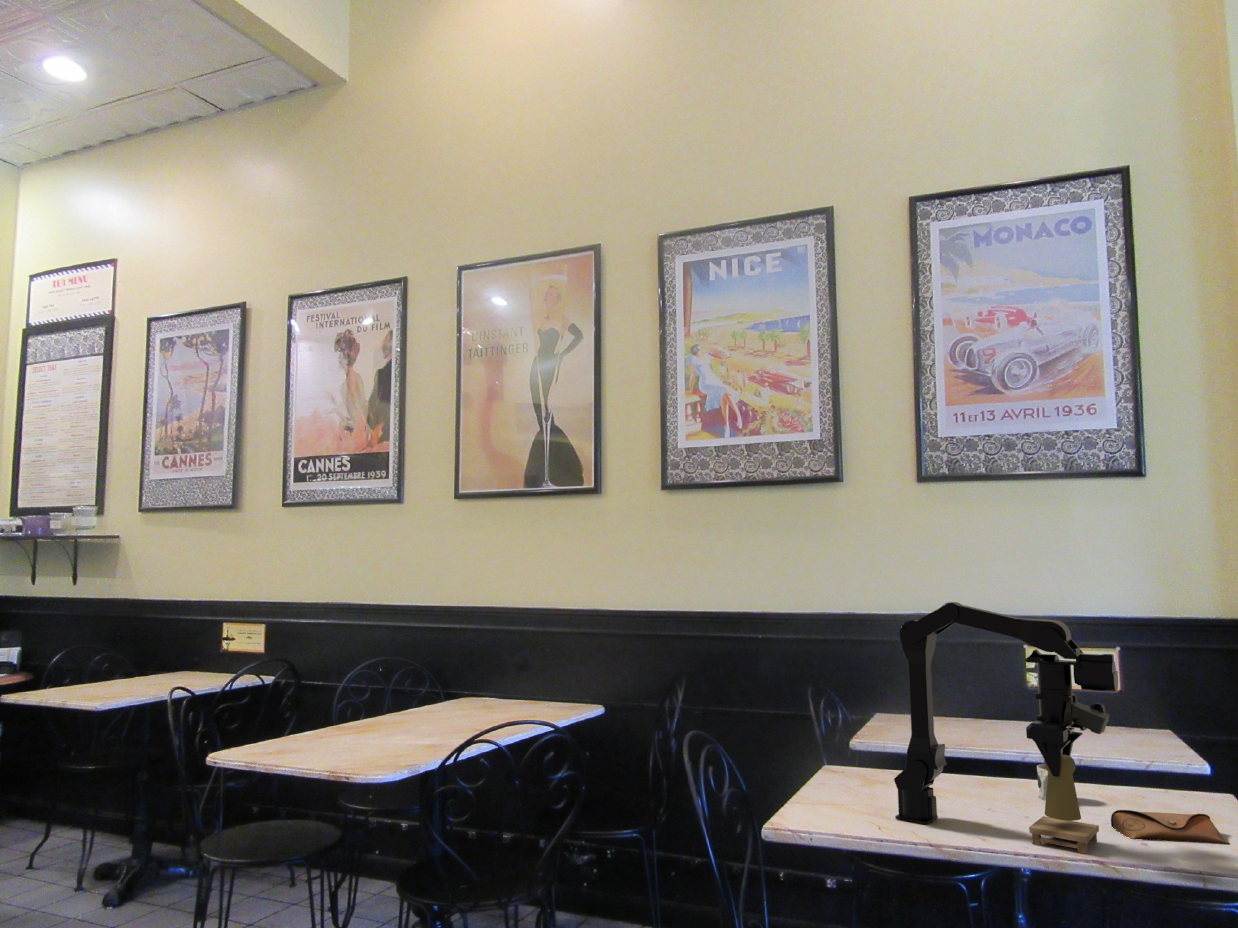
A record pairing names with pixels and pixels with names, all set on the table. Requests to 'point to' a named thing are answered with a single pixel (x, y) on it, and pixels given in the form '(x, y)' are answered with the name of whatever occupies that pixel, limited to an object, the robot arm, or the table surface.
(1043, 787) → the mug
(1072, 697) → the robot arm
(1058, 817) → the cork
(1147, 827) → the sunglasses case
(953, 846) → the table surface
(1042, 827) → the footstool
